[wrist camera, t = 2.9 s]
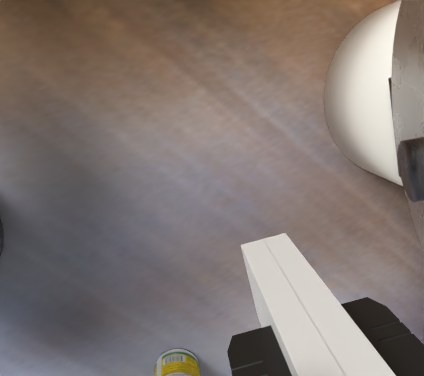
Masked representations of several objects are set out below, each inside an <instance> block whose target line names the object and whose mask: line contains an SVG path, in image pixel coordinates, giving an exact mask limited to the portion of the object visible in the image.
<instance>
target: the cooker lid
mask: <svg viewBox="0 0 424 376" xmlns="http://www.w3.org/2000/svg"><path fill="white" fill-rule="evenodd" d="M388 81H389V91H390V100H391V109H392V118H393V128H394V137H395V146H396V155H397V164H398V174H399V177H401V180H402V184H403V187H404V190H405V194H406V198H407V202H408V206H409V209H410V213H411V217H412V220H413V223H414V226H415V229H416V233H417V235H418V238H419V241H420V244H421V247H422V250H423V252H424V0H402V1H401V4H400V8H399V12H398V17H397V22H396V28H395V35H394V42H393V54H392V75H391V77H390V78H388Z"/></svg>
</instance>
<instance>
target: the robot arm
mask: <svg viewBox="0 0 424 376" xmlns="http://www.w3.org/2000/svg"><path fill="white" fill-rule="evenodd" d="M2 247H3V228H2V223H1V219H0V255H1V252H2ZM241 248H242V253H243V257H244V261H245V265H246V269H247V274H248V278H249V282H250V286H251V290H252V295H253V299H254V303H255V307H256V311H257V315H258V318H259V321H260V324H261V326H262V328H259V329H255V330H252V331H248V332H245V333H241V334H237V335H234V336H232V339H231V342H230V345H229V348H228V357H229V361H230V366H231V370H232V376H424V345H423V344H422V343H421V342H420V341H419V340H418V339H417V337H416V336H415V335H414V334H411V332H410V330H409V329H408V328H407V327H406V326H405V325H404V324H403V323H402V322H401V323H400V321H399V319H398V318H397V317H396V316H395V315H394V314H393V313H392V312H391V311H390V310H389V309H388V308H387V307H386V306H384V305H382V304H380V303H378V302H376V301H374V300H372V299H370V298H368V297H366V298H363V299H359V300H355V301H352V302H348V303H344V304H340V303H339V302H338V300H337V299H336V298H335V297H334V295H333V294H332V293H331V291H330V290H329V289H328V288H327V286H326V285H325V284H324V282H323V281H322V280H321V279H320V277H319V276H318V275H317V273H316V272H315V271H314V270H313V268H312V267H311V266H310V264H309V263H308V262H307V261H306V259H305V258H304V257H303V255H302V254H301V253H300V251H299V250H298V249H297V248H296V246H295V245H294V244H293V242H292V241H291V240H290V239H289V237H288V236H287V235H286V233H284V234H280V235H276V236H273V237H269V238H265V239H261V240H258V241H254V242H250V243H246V244H243V245H241Z"/></svg>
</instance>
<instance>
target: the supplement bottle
mask: <svg viewBox="0 0 424 376" xmlns="http://www.w3.org/2000/svg"><path fill="white" fill-rule="evenodd" d="M154 376H200V370H199V363H198V360H197V358H196V357H195V356H194V355H193V354H192V353H191V352H189V351H187V350H184V349H172V350H169V351H167V352H165V353H163V354H162V355H161V356H160V357H159V358H158V360H157V361H156V364H155V369H154Z"/></svg>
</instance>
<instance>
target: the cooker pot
mask: <svg viewBox="0 0 424 376" xmlns="http://www.w3.org/2000/svg"><path fill="white" fill-rule="evenodd" d="M401 1H402V0H399V1H396V2H394V3H391V4H388V5H386V6H384V7H381V8H379V9H377V10H375V11H374V12H372V13H371V14H369V15H368V16H366V17H365V18H364V19H362V20H361V21H360V22H359V23H358V24H357V25H356V26H355V27H354V28H353V29H352V30H351V31H350V32H349V33H348V34H347V36H346V37H345V38H344V40H343V41H342V43H341V44H340V46H339V47H338V49H337V51H336V53H335V54H334V57H333V59H332V61H331V64H330V66H329V70H328V73H327V77H326V81H325V88H324V111H325V117H326V122H327V126H328V128H329V131H330V134H331V136H332V138H333V140H334V142H335V143H336V145H337V146H338V148H339V149H340V150H341V152H342V153H343V154H344V155H345V156H346V157H347V158H348V159H349V160H350V161H352V162H353V163H354V164H356V165H357V166H359V167H361V168H363V169H364V170H366V171H369V172H371V173H373V174H376V175H378V176H380V177H383V178H385V179H387V180H390V181H392V182H394V183H396V184H399V185H401V186H403V184H402V180H401V177H399V174H398V164H397V155H396V146H395V137H394V128H393V118H392V109H391V100H390V91H389V81H388V78H390V77H391V75H392V54H393V42H394V35H395V28H396V22H397V17H398V12H399V8H400V4H401Z"/></svg>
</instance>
